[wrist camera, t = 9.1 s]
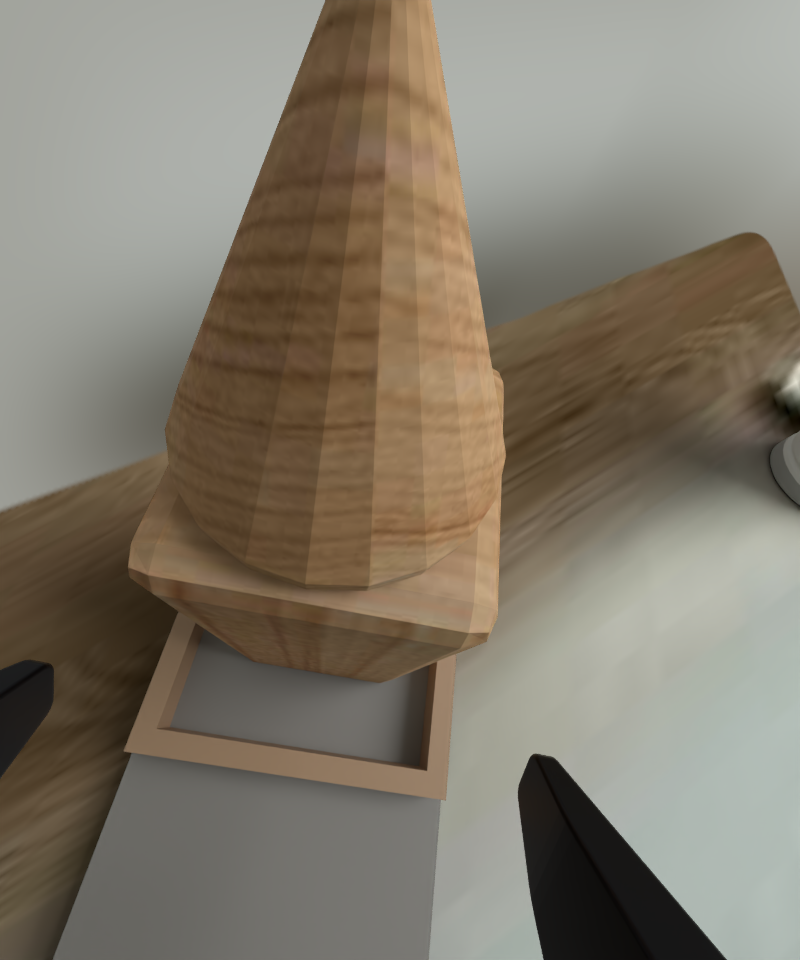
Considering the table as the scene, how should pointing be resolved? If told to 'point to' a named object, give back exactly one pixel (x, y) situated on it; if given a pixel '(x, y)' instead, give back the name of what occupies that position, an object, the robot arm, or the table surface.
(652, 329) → the table surface
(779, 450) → the travel mug
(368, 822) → the display stand
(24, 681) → the robot arm
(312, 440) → the decorative item
